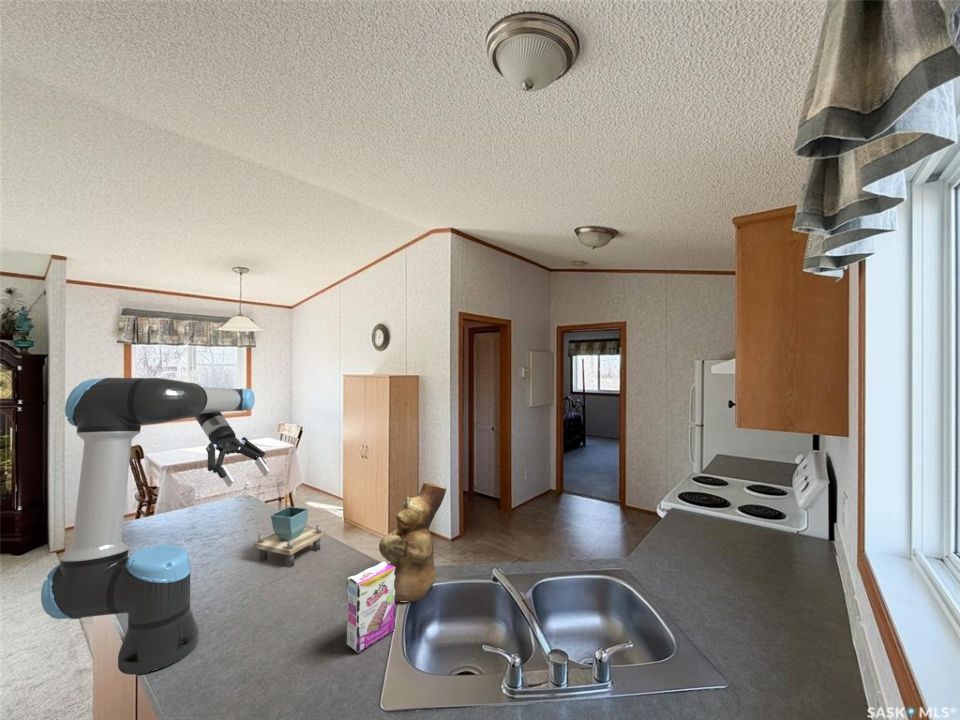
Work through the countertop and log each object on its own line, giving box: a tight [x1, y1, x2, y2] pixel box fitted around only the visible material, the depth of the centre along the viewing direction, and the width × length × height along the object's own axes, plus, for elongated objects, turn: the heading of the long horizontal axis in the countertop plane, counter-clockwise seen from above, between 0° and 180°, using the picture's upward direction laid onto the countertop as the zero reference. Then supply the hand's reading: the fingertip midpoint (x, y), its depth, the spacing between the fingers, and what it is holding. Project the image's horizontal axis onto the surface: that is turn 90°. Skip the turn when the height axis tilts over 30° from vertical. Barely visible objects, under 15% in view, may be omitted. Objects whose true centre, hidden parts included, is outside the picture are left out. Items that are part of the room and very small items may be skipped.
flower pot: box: [270, 506, 309, 540], centre depth 146 cm, size 9×9×9 cm
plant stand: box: [253, 524, 326, 568], centre depth 146 cm, size 16×16×8 cm
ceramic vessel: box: [378, 481, 447, 604], centre depth 126 cm, size 16×22×30 cm
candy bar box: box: [346, 561, 396, 653], centre depth 102 cm, size 11×5×16 cm, turn 141°
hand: (250, 478), depth 141 cm, fingers open, 13 cm apart
